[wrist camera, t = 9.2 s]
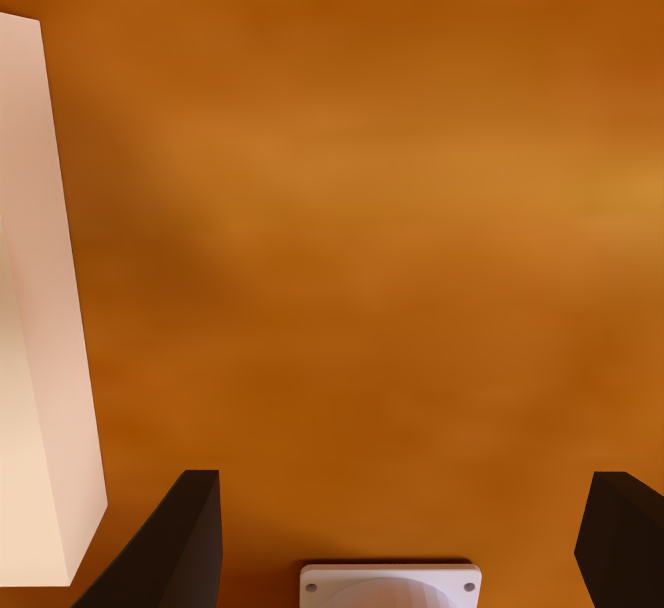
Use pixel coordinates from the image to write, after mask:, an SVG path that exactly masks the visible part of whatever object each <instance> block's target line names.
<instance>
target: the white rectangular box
mask: <svg viewBox="0 0 664 608" xmlns="http://www.w3.org/2000/svg"><path fill="white" fill-rule="evenodd" d="M107 506H108V503H107V496H106V489H105V482H104V475H103V468H102V461H101V454H100V447H99V440H98V432H97V425H96V418H95V411H94V404H93V397H92V390H91V383H90V376H89V369H88V362H87V355H86V348H85V341H84V333H83V326H82V319H81V312H80V305H79V298H78V291H77V284H76V277H75V270H74V263H73V256H72V249H71V242H70V235H69V227H68V220H67V213H66V206H65V199H64V192H63V185H62V178H61V171H60V164H59V157H58V150H57V143H56V136H55V128H54V121H53V114H52V107H51V100H50V93H49V86H48V79H47V72H46V65H45V58H44V51H43V44H42V37H41V29H40V22H39V21H38V20H33V19H29V18H24V17H20V16H15V15H10V14H6V13H1V12H0V587H17V586H70V584H71V582H72V580H73V578H74V576H75V574H76V572H77V570H78V567H79V565H80V563H81V561H82V559H83V557H84V555H85V553H86V551H87V548H88V546H89V544H90V542H91V540H92V538H93V536H94V534H95V532H96V529H97V527H98V525H99V523H100V521H101V519H102V517H103V515H104V512H105V510H106V508H107Z"/></svg>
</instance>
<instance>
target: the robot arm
mask: <svg viewBox="0 0 664 608" xmlns="http://www.w3.org/2000/svg"><path fill="white" fill-rule="evenodd" d="M574 555H575V557H576V560H577V563H578V566H579V568H580V571H581V574H582V576H583V579H584V582H585V584H586V587H587V589H588V592H589V594H590V596H591V599H592V601H593V604H594V606H595V608H664V497H663V496H662V495H660V494H659V493H657V492H656V491H655V490H653V489H652V488H650V487H649V486H647V485H646V484H644V483H643V482H641V481H639V480H638V479H636V478H635V477H633V476H631V475H630V474H628V473H626V472H594V475H593V479H592V483H591V487H590V491H589V495H588V499H587V503H586V507H585V511H584V515H583V519H582V523H581V527H580V531H579V535H578V539H577V543H576V547H575V551H574ZM222 557H223V547H222V526H221V506H220V485H219V470H185V471H184V472H183V473H182V474H181V475H180V476H179V478H178V479H177V480H176V482H175V483H174V485H173V486H172V487H171V489H170V490H169V492H168V493H167V494H166V496H165V497H164V498H163V500H162V501H161V502H160V504H159V505H158V506H157V508H156V509H155V510H154V512H153V513H152V514H151V515H150V517H149V518H148V519H147V521H146V522H145V523H144V524H143V526H142V527H141V528H140V529H139V530H138V532H137V533H136V534H135V535H134V537H133V538H132V539H131V540H130V541H129V543H128V544H127V545H126V546H125V547H124V549H123V550H122V551H121V552H120V553H119V555H118V556H117V557H116V558H115V559H114V560H113V562H112V563H111V564H110V565H109V566H108V567H107V568H106V569H105V570H104V571H103V573H102V574H101V575H100V576H99V577H98V578H97V579H96V580H95V581H94V582H93V583H92V585H91V586H90V587H89V588H88V589H87V590H86V591H85V592H84V593H83V594H82V596H81V597H80V598H79V599H78V600H77V601H76V602H75V603H74V604H73V605H72V606H71V607H70V608H216V602H217V595H218V588H219V580H220V572H221V565H222ZM481 579H482V576H481V572H480V569H479V568H478V566H476V565H474V564H311V565H307V566H305V567H303V568H302V569H301V572H300V608H476V607H477V601H478V596H479V590H480V584H481ZM467 583H470V584H467ZM308 584H314V585H308Z"/></svg>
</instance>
